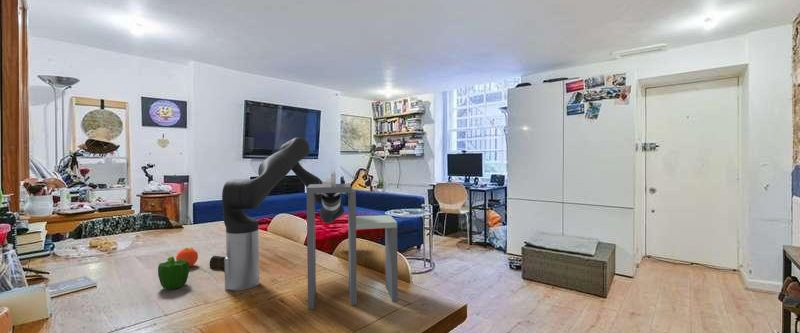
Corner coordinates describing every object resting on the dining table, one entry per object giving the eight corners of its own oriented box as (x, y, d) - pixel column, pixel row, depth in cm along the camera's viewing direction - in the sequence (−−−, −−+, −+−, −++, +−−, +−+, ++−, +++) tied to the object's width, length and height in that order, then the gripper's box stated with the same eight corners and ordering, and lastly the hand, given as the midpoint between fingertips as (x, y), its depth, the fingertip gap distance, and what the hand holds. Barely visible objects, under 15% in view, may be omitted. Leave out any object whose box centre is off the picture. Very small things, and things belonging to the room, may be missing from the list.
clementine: (183, 263, 132) (183, 245, 132) (202, 262, 133) (202, 244, 132) (172, 270, 124) (171, 250, 124) (192, 269, 125) (192, 249, 124)
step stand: (308, 309, 91) (306, 187, 90) (310, 292, 103) (309, 184, 102) (397, 301, 96) (396, 185, 95) (390, 285, 107) (389, 182, 107)
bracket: (322, 187, 91) (322, 174, 91) (323, 182, 111) (323, 171, 111) (335, 187, 92) (335, 173, 92) (334, 182, 111) (334, 171, 111)
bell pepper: (173, 281, 112) (173, 251, 112) (195, 283, 111) (194, 252, 110) (150, 291, 104) (149, 258, 104) (173, 293, 102) (172, 259, 102)
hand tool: (258, 270, 124) (258, 257, 124) (250, 273, 120) (250, 260, 120) (216, 266, 130) (215, 253, 129) (207, 269, 126) (207, 256, 126)
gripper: (313, 190, 139) (310, 172, 125) (348, 189, 142) (349, 172, 127) (312, 208, 136) (309, 191, 121) (349, 206, 138) (350, 190, 124)
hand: (330, 181), depth 124 cm, fingers open, 8 cm apart
